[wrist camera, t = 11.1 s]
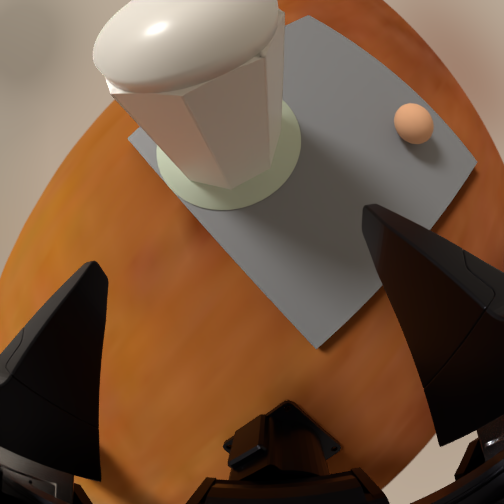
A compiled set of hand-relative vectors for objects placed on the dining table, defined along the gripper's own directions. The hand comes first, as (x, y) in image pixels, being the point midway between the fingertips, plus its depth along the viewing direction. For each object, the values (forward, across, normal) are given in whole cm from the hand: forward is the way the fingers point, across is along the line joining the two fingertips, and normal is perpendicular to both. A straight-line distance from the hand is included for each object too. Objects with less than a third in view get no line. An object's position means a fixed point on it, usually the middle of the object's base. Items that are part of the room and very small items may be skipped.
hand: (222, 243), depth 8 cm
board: (+12, -6, +2) cm, 14 cm away
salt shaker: (+12, 0, 0) cm, 12 cm away
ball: (+10, -13, 0) cm, 16 cm away
